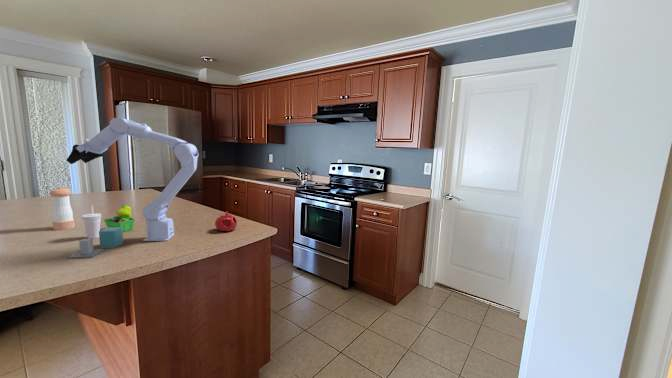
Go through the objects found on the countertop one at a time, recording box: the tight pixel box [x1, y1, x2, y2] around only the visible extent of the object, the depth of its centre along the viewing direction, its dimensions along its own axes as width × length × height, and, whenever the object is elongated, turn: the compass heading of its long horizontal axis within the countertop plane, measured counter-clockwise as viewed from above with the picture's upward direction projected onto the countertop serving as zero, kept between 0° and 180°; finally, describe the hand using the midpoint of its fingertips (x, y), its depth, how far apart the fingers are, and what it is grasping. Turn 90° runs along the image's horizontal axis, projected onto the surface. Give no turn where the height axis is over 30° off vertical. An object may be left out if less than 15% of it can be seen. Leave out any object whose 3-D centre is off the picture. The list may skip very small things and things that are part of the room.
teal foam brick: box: [98, 227, 124, 249], centre depth 108 cm, size 5×5×7 cm
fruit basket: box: [103, 204, 136, 233], centre depth 128 cm, size 11×9×11 cm
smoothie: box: [81, 204, 102, 239], centre depth 116 cm, size 6×6×14 cm
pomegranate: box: [214, 210, 238, 232], centre depth 134 cm, size 10×10×9 cm
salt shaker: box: [49, 186, 76, 231], centre depth 127 cm, size 7×7×19 cm
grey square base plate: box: [68, 238, 106, 259], centre depth 99 cm, size 7×7×6 cm
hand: (76, 161), depth 109 cm, fingers open, 7 cm apart
